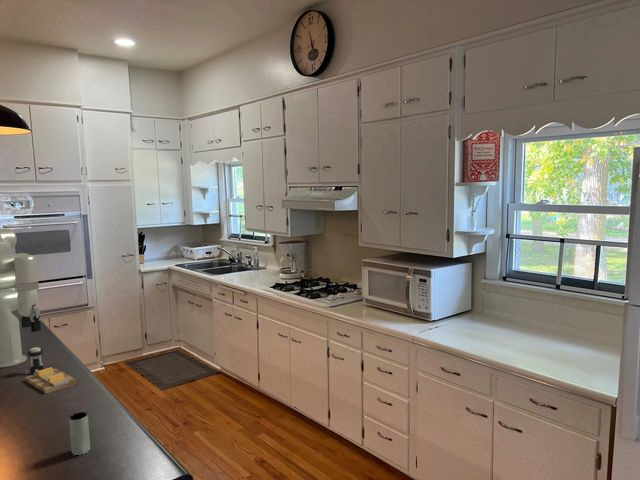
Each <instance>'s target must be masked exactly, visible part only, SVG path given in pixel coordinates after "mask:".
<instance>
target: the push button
mask: <svg viewBox="0 0 640 480" xmlns="http://www.w3.org/2000/svg"><path fill="white" fill-rule="evenodd" d="M43 351H44V349H43V348H41V347H40V346H38V347H37V346H36V347H32V348H30V349H29V351H27V354H28V355H27V356H28V357H30V366H29V370H24V371H25V372H26V373H25V375H28V374H30V376H32V375H34V373H35V372H37V371H39V370H43V369H45V368H44V364H43V363H42V355H43Z"/></svg>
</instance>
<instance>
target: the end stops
mask: <svg viewBox="0 0 640 480" xmlns="http://www.w3.org/2000/svg"><path fill="white" fill-rule="evenodd" d="M53 369H54V368H53V367H46V368H44V369H43V370H39V371H37V375H38V376H42V375H45V374H48V373H52V372H53ZM63 373H64V372H63ZM63 373H60V374H57V375H53V376H50V377H48V382H53V381H57V380H60V379H63V378H64V374H63Z"/></svg>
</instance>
